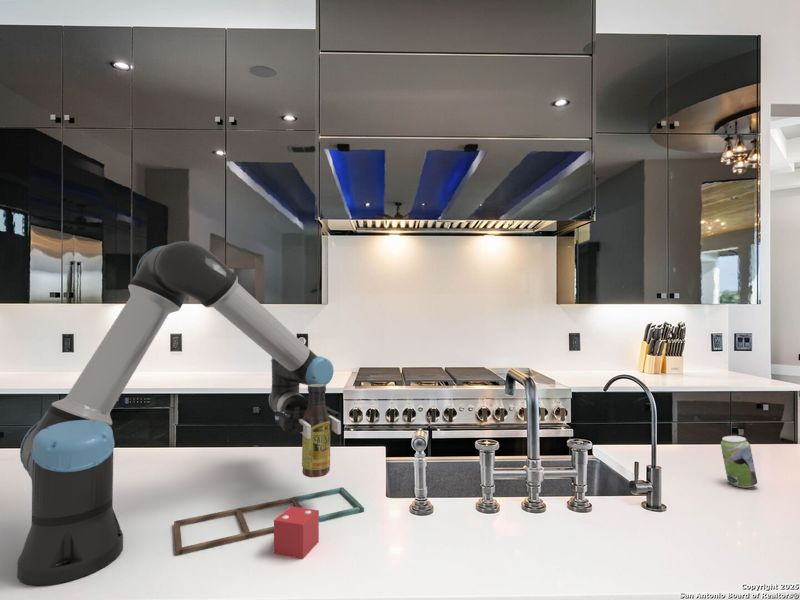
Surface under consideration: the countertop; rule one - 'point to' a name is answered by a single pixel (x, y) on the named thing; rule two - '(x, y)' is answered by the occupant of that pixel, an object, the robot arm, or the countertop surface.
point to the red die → (296, 532)
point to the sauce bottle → (316, 434)
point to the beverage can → (738, 461)
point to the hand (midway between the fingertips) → (324, 429)
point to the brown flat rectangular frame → (256, 533)
